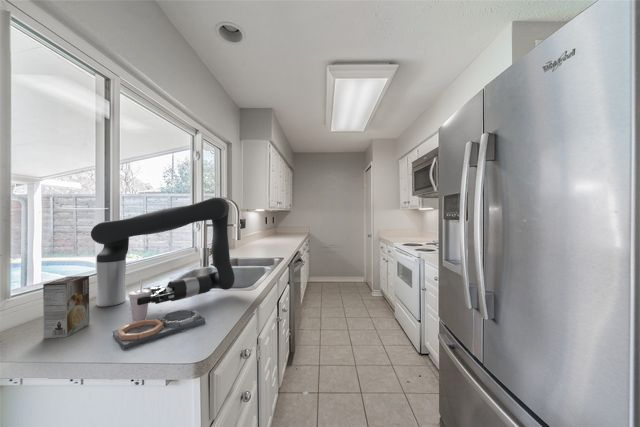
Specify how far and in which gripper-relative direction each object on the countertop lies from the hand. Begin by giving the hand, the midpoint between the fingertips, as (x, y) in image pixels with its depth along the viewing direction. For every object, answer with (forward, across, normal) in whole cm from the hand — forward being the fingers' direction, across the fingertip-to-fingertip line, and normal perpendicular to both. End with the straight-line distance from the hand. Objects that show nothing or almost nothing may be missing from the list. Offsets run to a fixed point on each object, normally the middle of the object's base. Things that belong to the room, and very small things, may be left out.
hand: (133, 299), depth 87 cm
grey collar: (-9, +14, +6) cm, 18 cm away
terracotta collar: (+2, +14, +6) cm, 15 cm away
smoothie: (-2, 0, +8) cm, 8 cm away
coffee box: (+15, -7, +8) cm, 18 cm away
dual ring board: (-4, +14, +8) cm, 16 cm away
